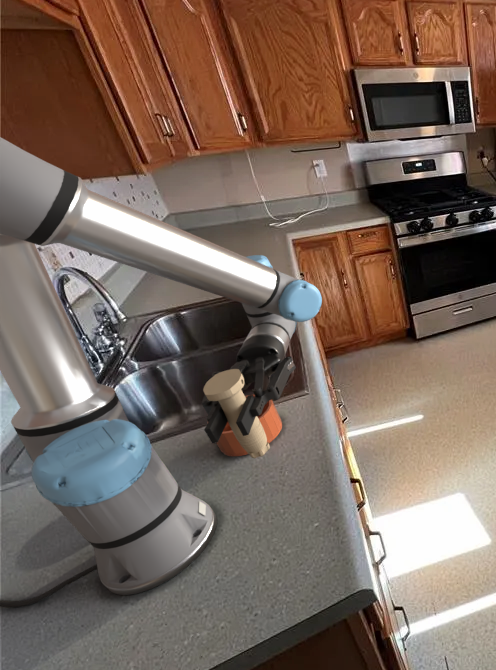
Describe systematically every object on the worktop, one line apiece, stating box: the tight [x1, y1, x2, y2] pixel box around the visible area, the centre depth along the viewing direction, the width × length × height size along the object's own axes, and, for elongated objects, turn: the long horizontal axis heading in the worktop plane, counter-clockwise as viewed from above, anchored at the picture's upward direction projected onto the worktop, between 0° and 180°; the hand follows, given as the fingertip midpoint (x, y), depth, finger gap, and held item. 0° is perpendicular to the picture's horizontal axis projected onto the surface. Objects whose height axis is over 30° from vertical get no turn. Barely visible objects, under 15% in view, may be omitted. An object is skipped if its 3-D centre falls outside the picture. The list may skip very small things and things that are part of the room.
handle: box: [202, 369, 271, 459], centre depth 66 cm, size 5×6×15 cm
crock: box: [206, 393, 283, 457], centre depth 89 cm, size 12×12×6 cm
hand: (226, 432), depth 61 cm, fingers closed on handle, 3 cm apart
